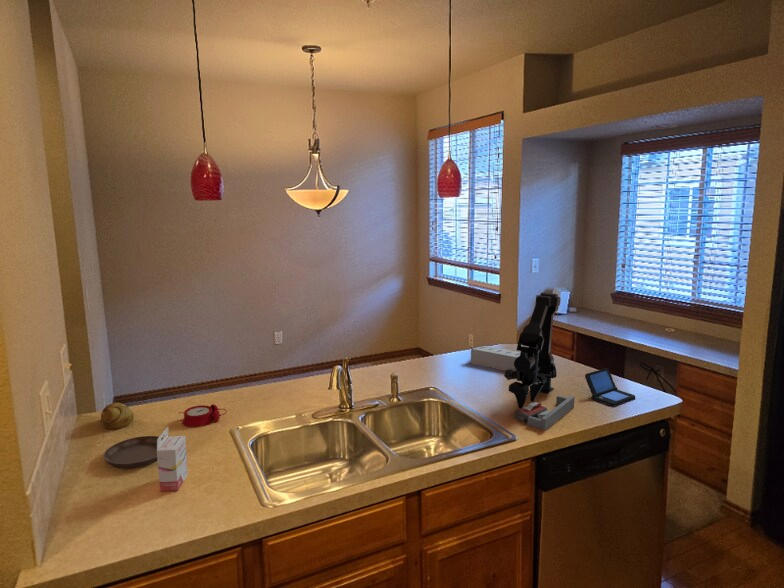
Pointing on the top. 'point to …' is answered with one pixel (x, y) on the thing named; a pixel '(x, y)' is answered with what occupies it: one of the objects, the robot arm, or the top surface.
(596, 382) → the handheld game console
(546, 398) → the top surface
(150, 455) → the plant saucer
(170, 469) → the ink cartridge box
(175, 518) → the top surface
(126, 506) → the top surface
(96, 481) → the top surface
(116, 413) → the snail shell
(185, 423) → the alarm clock
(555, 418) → the grey u-shaped bracket
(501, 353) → the low grey-white block
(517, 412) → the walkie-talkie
